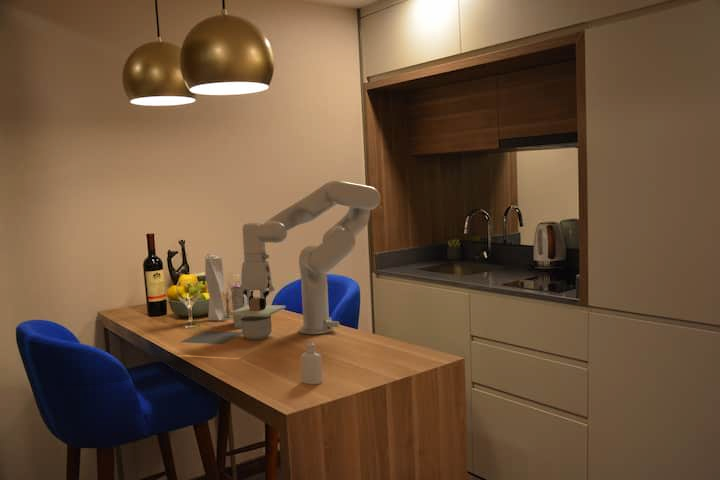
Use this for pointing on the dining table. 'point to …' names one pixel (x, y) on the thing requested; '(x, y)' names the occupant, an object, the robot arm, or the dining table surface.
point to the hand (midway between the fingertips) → (257, 308)
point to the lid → (256, 309)
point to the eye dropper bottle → (311, 365)
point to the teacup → (256, 327)
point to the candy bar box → (238, 303)
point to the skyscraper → (216, 288)
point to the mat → (213, 337)
